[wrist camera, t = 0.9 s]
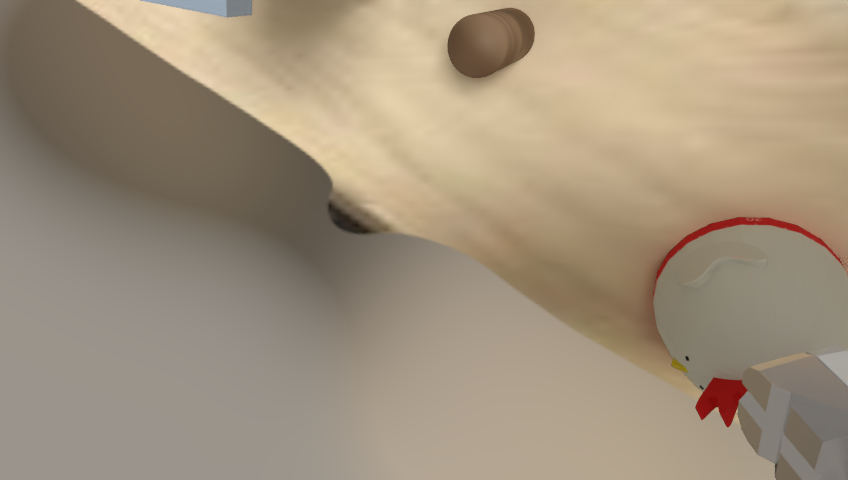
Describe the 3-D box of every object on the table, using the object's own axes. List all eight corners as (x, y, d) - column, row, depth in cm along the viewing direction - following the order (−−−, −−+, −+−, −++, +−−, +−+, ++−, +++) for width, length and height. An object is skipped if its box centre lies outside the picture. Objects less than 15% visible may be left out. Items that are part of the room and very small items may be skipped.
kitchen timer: (626, 253, 50) (609, 348, 37) (808, 188, 43) (863, 276, 31) (694, 387, 52) (700, 520, 40) (877, 346, 46) (955, 489, 33)
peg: (505, -4, 46) (470, 0, 38) (545, 29, 46) (518, 40, 38) (474, 40, 48) (436, 52, 40) (513, 72, 48) (481, 90, 40)
